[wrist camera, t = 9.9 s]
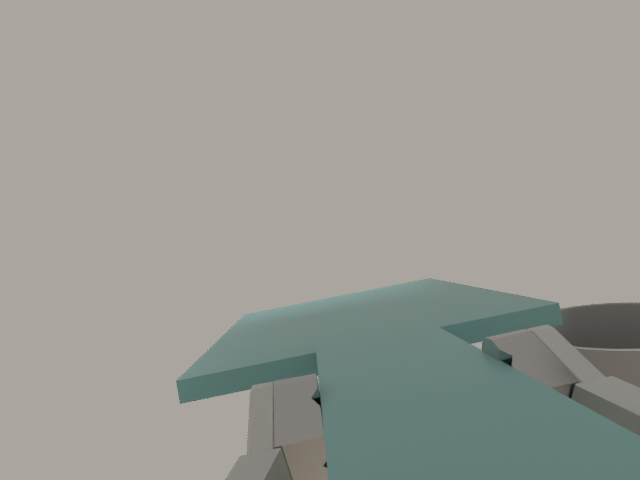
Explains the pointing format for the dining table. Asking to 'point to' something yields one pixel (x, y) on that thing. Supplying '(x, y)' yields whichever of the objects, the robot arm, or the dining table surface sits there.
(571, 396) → the robot arm
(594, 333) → the cylinder vase
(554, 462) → the teal flat board
